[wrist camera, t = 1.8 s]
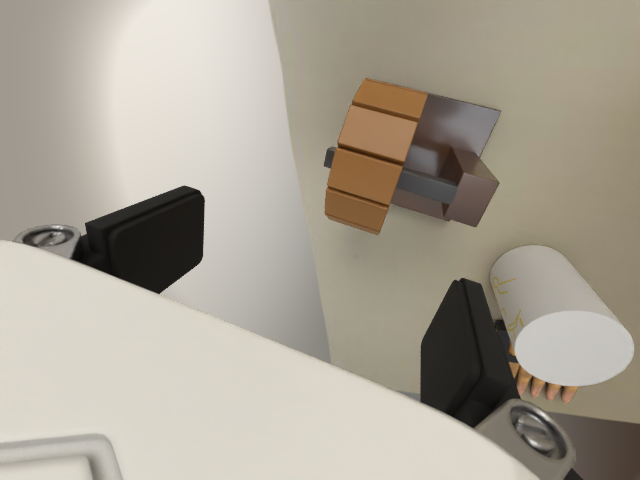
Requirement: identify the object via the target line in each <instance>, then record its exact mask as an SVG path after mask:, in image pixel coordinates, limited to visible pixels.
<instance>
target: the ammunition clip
mask: <svg viewBox="0 0 640 480" xmlns="http://www.w3.org/2000/svg"><path fill="white" fill-rule="evenodd" d="M495 330H496V331H497V332H498V333H499V335H500V337H501V340H502V343H503V346H504V349H505V352H506V355H507V358H508V361H509V364H510V367H511V370H512V373H513V377H514V378H515V376H516V375H517V372H518V378H517V385H516V386H517V389H518V392H519V395H521V394H522V393H523V392H524V391H525V389H526V387H527V385H528V383H529V380H530V379H531V378H532V376H533V375H531V374H530V373H528V372H527V371H526V370H525V369H524V368H523V367H522V366H521V365H520V364H519V362H518V360H517V358H516V355H515V352H514V350H513V347H512V344H511V341H510V338H509V335H508V332H507V329H506V326H505V323H504V321H498V320H497V321H496V322H495ZM544 384H545V381H543V380H540V379H538V378H536V377H534V376H533V380H532V385H531V395H532V397H533V398H535V397H537V396H538V395H539V394H540V392H541V390H542V388H543V386H544ZM560 387H561V385H557V384H552V383H549V382H548V386H547V391H546V396H547V399H548V401H550V400H552V399H553V398H554V397H555V396H556V395H557V393H558V390H559V389H560ZM579 387H580V386H564V389H563V392H562V400H563V403H568V402H569V401H570V400H571V399H572V398H573V396H574V394H575V392H576V391H577V389H578V388H579Z"/></svg>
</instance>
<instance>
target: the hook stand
mask: <svg viewBox="0 0 640 480" xmlns="http://www.w3.org/2000/svg"><path fill="white" fill-rule="evenodd" d="M409 89H410V88H409ZM413 90H414V89H413ZM417 91H418V90H417ZM421 92H422V91H421ZM425 93H426V92H425ZM500 113H501V111H499V110H495V109H491V108H487V107H483V106H479V105H475V104H471V103H467V102H463V101H459V100H454V99H450V98H446V97H442V96H438V95H434V94H430V93H428V96H427V99H426V102H425V105H424V107H423V110H422V113H421V116H420V119H419V122H418V125H417V128H416V131H415V134H414V137H413V139H412V142H411V145H410V148H409V151H408V154H407V157H406V160H405V162H404V165H403V168H402V171H401V174H400V177H399V180H398V183H397V185H396V188H395V191H394V194H393V197H392V200H391V202H390V203H392V204H395V205H398V206H401V207H404V208H408V209H411V210H414V211H417V212H420V213H424V214H427V215H430V216H433V217H436V218H440V219H443V220H446V221H450V220H454V221H457V222H460V223H464V224H467V225H470V226H473V227H477V225H478V223H479V221H480V219H481V217H482V216H483V214H484V212H485V210H486V208H487V206H488V204H489V202H490V200H491V198H492V196H493V195H494V193H495V191H496V189H497V187H498V185H499V181H498V180H497V179H496V178H495V176H494V175H493V174H492V173H491V171H490V170H489V169H488V168H487V167H486V165H485V164H484V163H483V162H482V160H481V159H480V156H481V154H482V151H483V149H484V147H485V145H486V143H487V141H488V139H489V137H490V134H491V132H492V130H493V128H494V126H495V124H496V122H497V120H498V117H499V115H500ZM335 149H336V147H333V146H332V147H330V148H328V149H327V153H326V157H325V162H324V166H325V167H328V168H331V166H332V162H333V158H334V153H335Z"/></svg>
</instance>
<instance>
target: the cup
mask: <svg viewBox="0 0 640 480" xmlns="http://www.w3.org/2000/svg"><path fill="white" fill-rule="evenodd" d="M490 281H491V285H492V288H493V291H494V294H495V297H496V300H497V303H498V305H499V308H500V311H501V314H502V317H503V320H504V323H505V326H506V329H507V332H508V335H509V338H510V341H511V344H512V347H513V350H514V352H515V355H516V358H517V360H518V362H519V364H520V365H521V366H522V367H523V368H524V369H525V370H526V371H527V372H528V373H530V374H531V375H533V376H534V377H536V378H538V379H540V380H543V381H545V382H549V383H552V384H557V385H563V386H585V385H592V384H596V383H600V382H603V381H606V380H608V379H610V378H612V377H614V376H616V375H617V374H619V373H620V372H621V371H623V370H624V369H625V368H626V367H627V365H628V364H629V363H630V361H631V359H632V357H633V353H634V343H633V340H632V337H631V335H630V334H629V332H628V331H627V330H626V329H625V327H624V326H623V325H622V324H621V323H620V321H619V320H618V319H617V318H616V317H615V316H614V314H613V313H612V312H611V311H610V310H609V308H608V307H607V306H606V305H605V304H604V303H603V301H602V300H601V299H600V298H599V297H598V295H597V294H596V293H595V292H594V291H593V290H592V288H591V287H590V286H589V285H588V284H587V282H586V281H585V280H584V279H583V278H582V276H581V275H580V274H579V273H578V272H577V271H576V269H575V268H574V267H573V266H572V265H571V263H570V262H569V261H568V260H567V259H566V258H565V257H564V256H563V255H562V254H561V253H560V252H558V251H556V250H554V249H552V248H549V247H546V246H540V245H527V246H521V247H518V248H515V249H512V250H510V251H508V252H506V253H505V254H503V255H502V256H501V257H500V258H498V260H497V261H496V262H495V263H494V265H493V267H492V269H491V273H490Z"/></svg>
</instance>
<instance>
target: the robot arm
mask: <svg viewBox="0 0 640 480" xmlns="http://www.w3.org/2000/svg"><path fill="white" fill-rule="evenodd" d="M204 202H205V200H204V196H203V195H202V194H201V192H200V191H199V190H197V189H194V188H191V187H188V186H181V187H179V188H176V189H174V190H171V191H168V192H166V193H163V194H160V195H158V196H155V197H152V198H150V199H147V200H145V201H142V202H139V203H137V204H134V205H131V206H129V207H126V208H124V209H121V210H118V211H116V212H113V213H111V214H108V215H105V216H103V217H100V218H98V219H95V220H92V221H89V222H87V223H85V226H86V231H87V234H86V235H83V236H81V233H80V231H79V230H78V229H77V228H75V227H72V226H68V225H58V224H55V225H43V226H37V227H33V228H30V229H27V230H25V231H23V232H21V233H19V234H18V235H17V236H16V237H15V238H14V240H13V241H12V242H9V241H3V240H0V480H583V479H582V478H581V477H580V476H579V475H578V474H577V473H576V472H575V471H574V470H573V469H572V466H573V465H574V463H575V459H576V453H575V448H574V445H573V444H572V441H571V439H570V437H569V436H568V434H567V433H566V432H565V430H564V429H563V428H562V426H560V424H559V423H558V422H557V421H556V420H555V419H554V418H553V417H552V416H551V415H549V414H548V413H547V412H545V411H544V410H543V409H541V408H540V407H538V406H536V405H534V404H532V403H531V402H528V401H525V400H522V399H521V398H520V395H519V392H518V389H517V386H516V383H515V380H514V377H513V373H512V370H511V367H510V364H509V361H508V358H507V355H506V352H505V349H504V346H503V343H502V340H501V337H500V335H499V333H498V332H497V331H496V330H495V326H494V323H493V320H492V317H491V314H490V310H489V307H488V304H487V301H486V298H485V294H484V291H483V288H482V285H481V284H480V283H477V282H474V281H471V280H468V279H465V278H461V279H460V280H459V281H457V280H454V281H453V282H452V284H451V286H450V287H449V289H448V291H447V293H446V295H445V297H444V299H443V301H442V303H441V305H440V307H439V309H438V310H437V312H436V314H435V316H434V318H433V320H432V322H431V324H430V326H429V328H428V330H427V332H426V334H425V335H424V337H423V340H422V343H421V402H419V401H417V400H415V399H412V398H410V397H408V396H406V395H403V394H401V393H399V392H397V391H395V390H392V389H390V388H387V387H385V386H383V385H380V384H378V383H375V382H373V381H370V380H368V379H366V378H363V377H361V376H358V375H356V374H353V373H351V372H349V371H346V370H344V369H341V368H339V367H336V366H334V365H332V364H329V363H327V362H324V361H322V360H319V359H317V358H315V357H312V356H310V355H307V354H305V353H302V352H300V351H297V350H295V349H292V348H290V347H287V346H285V345H282V344H280V343H278V342H275V341H273V340H270V339H268V338H265V337H263V336H260V335H258V334H255V333H253V332H251V331H248V330H246V329H243V328H241V327H238V326H236V325H233V324H230V323H228V322H226V321H223V320H221V319H218V318H216V317H214V316H211V315H208V314H206V313H204V312H201V311H199V310H196V309H194V308H191V307H189V306H186V305H184V304H182V303H179V302H177V301H174V300H171V299H169V298H167V297H164V296H162V295H159V294H160V293H161V292H162V291H163V290H165V289H166V288H168V287H169V286H170V285H172V284H173V283H174V282H175V281H177V280H178V279H180V278H181V277H182V276H183V275H185V274H186V273H187V272H189V271H190V270H191V269H193V268H194V267H195V266H197V265H198V264H199V263H200V262H201V260H202V257H203V236H204Z"/></svg>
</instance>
